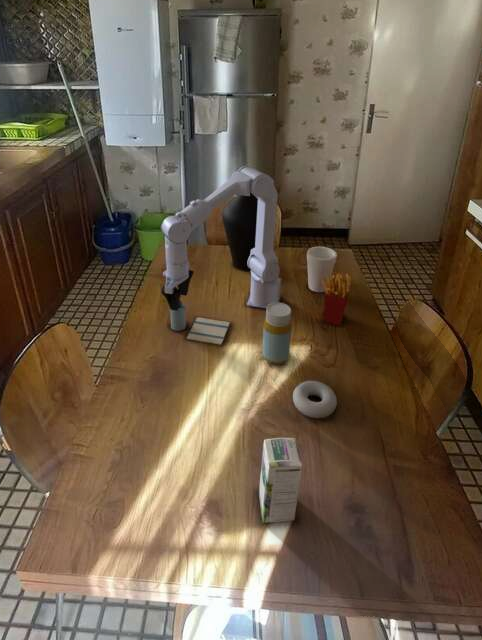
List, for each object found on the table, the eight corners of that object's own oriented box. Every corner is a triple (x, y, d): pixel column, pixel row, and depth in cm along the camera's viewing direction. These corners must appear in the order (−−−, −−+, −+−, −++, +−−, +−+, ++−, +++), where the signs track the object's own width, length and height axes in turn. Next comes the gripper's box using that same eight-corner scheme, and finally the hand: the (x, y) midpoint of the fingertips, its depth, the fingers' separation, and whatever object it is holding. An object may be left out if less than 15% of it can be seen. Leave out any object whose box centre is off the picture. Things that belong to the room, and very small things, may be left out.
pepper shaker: (188, 322, 128) (187, 299, 124) (183, 331, 124) (182, 308, 120) (174, 320, 129) (172, 297, 125) (168, 329, 125) (167, 305, 121)
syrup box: (258, 492, 81) (261, 438, 75) (289, 490, 81) (295, 435, 75) (262, 524, 76) (267, 468, 70) (296, 521, 76) (303, 465, 70)
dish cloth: (229, 323, 128) (229, 322, 128) (221, 344, 119) (221, 343, 119) (197, 318, 130) (197, 317, 130) (186, 339, 121) (186, 337, 121)
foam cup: (299, 289, 145) (302, 254, 139) (309, 277, 152) (313, 244, 147) (326, 297, 141) (331, 262, 135) (336, 285, 148) (340, 251, 142)
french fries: (343, 328, 126) (350, 284, 120) (315, 321, 129) (320, 278, 123) (347, 312, 134) (354, 269, 127) (320, 306, 136) (326, 264, 130)
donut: (333, 427, 95) (338, 394, 103) (334, 416, 93) (340, 383, 102) (288, 415, 98) (296, 383, 106) (289, 403, 96) (297, 373, 105)
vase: (224, 252, 168) (225, 164, 153) (268, 255, 167) (274, 166, 152) (218, 274, 153) (219, 179, 138) (267, 278, 152) (273, 181, 136)
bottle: (287, 367, 111) (291, 319, 105) (260, 363, 113) (263, 315, 106) (289, 349, 117) (293, 303, 111) (263, 346, 119) (266, 300, 112)
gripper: (172, 246, 124) (174, 286, 130) (152, 270, 111) (155, 314, 117) (195, 249, 123) (196, 289, 129) (178, 274, 110) (180, 318, 116)
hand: (178, 301), depth 123 cm, fingers open, 7 cm apart
